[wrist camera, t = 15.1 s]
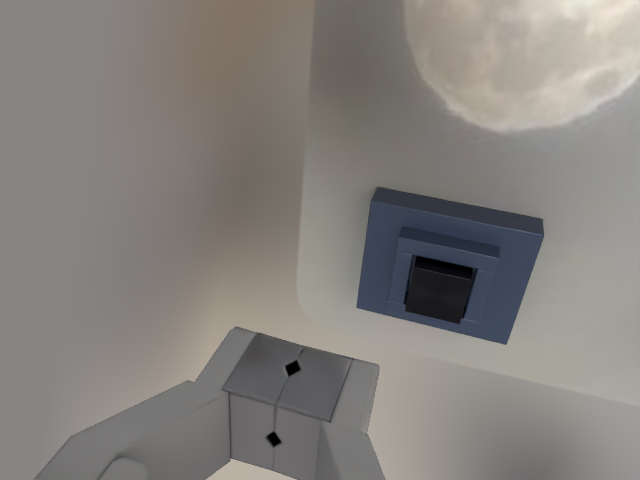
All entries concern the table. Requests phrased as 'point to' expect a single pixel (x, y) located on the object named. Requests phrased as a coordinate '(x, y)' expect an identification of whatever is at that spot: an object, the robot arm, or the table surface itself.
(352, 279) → the table surface
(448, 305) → the key
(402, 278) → the stepped blue pedestal
